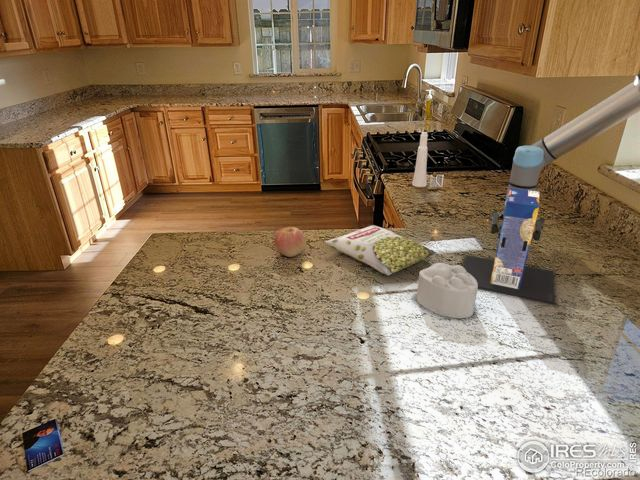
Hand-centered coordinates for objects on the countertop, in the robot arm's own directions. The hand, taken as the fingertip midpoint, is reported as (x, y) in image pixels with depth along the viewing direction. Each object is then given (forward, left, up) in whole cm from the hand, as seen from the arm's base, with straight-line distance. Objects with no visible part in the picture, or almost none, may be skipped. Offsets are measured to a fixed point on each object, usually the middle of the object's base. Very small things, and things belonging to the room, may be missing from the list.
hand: (514, 244), depth 101 cm
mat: (0, -5, -12) cm, 14 cm away
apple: (+58, +6, -13) cm, 60 cm away
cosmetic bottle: (+38, -71, -13) cm, 82 cm away
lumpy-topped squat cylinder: (+12, +13, -13) cm, 22 cm away
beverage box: (0, -5, -12) cm, 13 cm away
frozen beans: (+34, -3, -13) cm, 36 cm away
